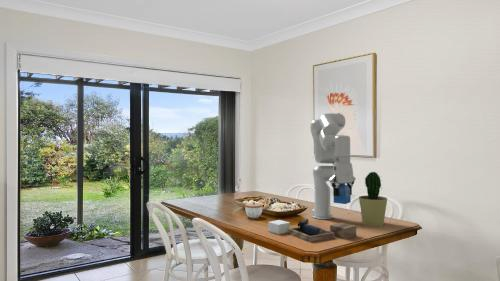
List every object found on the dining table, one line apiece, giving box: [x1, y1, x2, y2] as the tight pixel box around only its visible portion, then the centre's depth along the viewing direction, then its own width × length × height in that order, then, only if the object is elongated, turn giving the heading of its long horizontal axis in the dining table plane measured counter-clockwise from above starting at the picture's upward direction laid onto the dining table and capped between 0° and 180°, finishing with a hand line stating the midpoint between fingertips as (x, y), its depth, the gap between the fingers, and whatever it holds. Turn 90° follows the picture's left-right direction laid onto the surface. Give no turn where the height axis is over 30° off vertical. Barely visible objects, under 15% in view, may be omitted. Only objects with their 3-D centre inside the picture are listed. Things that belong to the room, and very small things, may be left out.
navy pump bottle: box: [297, 218, 323, 236], centre depth 185 cm, size 9×8×12 cm
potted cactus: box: [358, 171, 388, 227], centre depth 208 cm, size 15×15×30 cm
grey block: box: [267, 219, 291, 235], centre depth 191 cm, size 8×8×5 cm
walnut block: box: [329, 222, 357, 240], centre depth 182 cm, size 9×9×5 cm
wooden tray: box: [287, 226, 336, 243], centre depth 183 cm, size 18×15×2 cm
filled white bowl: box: [244, 201, 263, 219], centre depth 226 cm, size 11×11×9 cm
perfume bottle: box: [333, 183, 352, 205], centre depth 183 cm, size 6×6×12 cm
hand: (342, 195), depth 183 cm, fingers closed on perfume bottle, 8 cm apart
